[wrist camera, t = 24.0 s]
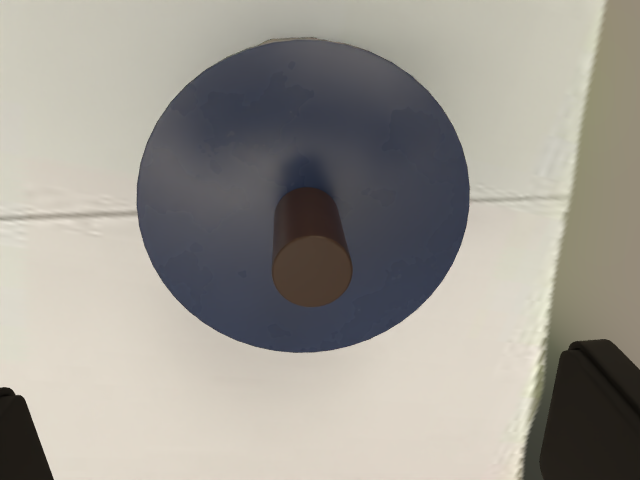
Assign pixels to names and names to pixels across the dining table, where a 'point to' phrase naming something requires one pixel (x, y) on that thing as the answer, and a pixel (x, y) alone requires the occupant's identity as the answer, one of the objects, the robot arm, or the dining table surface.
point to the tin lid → (303, 195)
